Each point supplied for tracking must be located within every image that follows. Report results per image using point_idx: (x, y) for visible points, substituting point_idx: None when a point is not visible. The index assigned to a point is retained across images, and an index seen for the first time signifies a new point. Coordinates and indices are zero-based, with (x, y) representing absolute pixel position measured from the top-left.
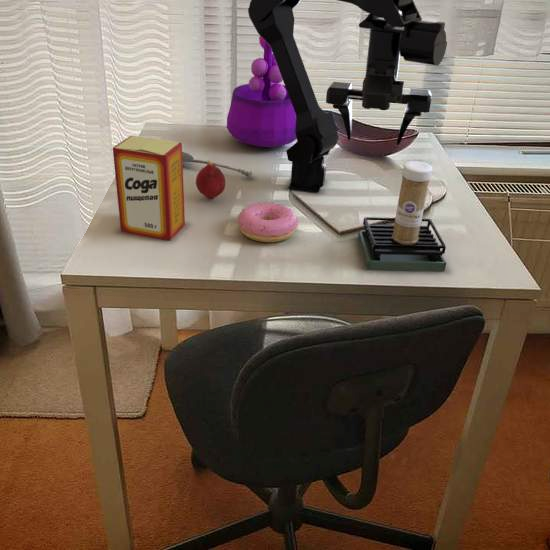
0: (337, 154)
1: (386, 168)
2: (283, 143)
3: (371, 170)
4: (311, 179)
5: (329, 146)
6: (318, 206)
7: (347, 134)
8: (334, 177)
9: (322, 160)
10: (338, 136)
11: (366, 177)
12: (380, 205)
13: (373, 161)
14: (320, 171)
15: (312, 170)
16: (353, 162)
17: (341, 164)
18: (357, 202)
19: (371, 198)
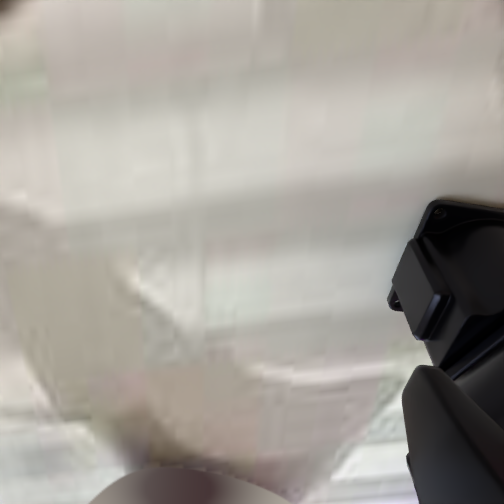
0: (300, 476)
1: (138, 419)
2: None
3: (190, 401)
4: (483, 246)
5: (475, 387)
6: (465, 52)
7: (476, 409)
8: (333, 339)
9: (458, 335)
10: (412, 476)
11: (209, 354)
12: (146, 114)
13: (183, 453)
14: (452, 281)
15: (501, 275)
16: (251, 440)
17: (294, 425)
18: (257, 131)
19: (190, 183)
